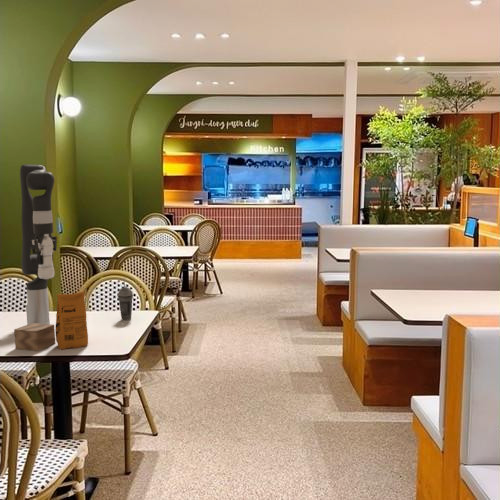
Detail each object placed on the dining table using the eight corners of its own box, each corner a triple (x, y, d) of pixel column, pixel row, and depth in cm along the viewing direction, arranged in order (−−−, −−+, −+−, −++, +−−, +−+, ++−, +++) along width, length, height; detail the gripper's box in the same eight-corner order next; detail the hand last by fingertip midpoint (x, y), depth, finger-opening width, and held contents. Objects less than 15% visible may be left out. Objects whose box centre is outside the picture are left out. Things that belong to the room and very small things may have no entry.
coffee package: (55, 344, 249) (52, 292, 246) (86, 340, 253) (83, 289, 251) (57, 350, 240) (54, 296, 237) (89, 346, 244) (86, 293, 242)
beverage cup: (121, 321, 286) (119, 280, 283) (117, 318, 292) (115, 277, 289) (135, 319, 289) (134, 278, 286) (131, 316, 295) (129, 276, 293)
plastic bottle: (58, 278, 247) (55, 229, 245) (48, 280, 241) (45, 231, 238) (45, 277, 249) (42, 229, 247) (34, 280, 243) (31, 230, 240)
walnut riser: (15, 348, 243) (14, 329, 242) (33, 341, 254) (32, 323, 253) (37, 350, 240) (36, 331, 239) (55, 343, 250) (54, 324, 249)
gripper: (46, 220, 250) (48, 260, 252) (23, 223, 236) (26, 265, 239) (61, 220, 247) (64, 261, 250) (39, 223, 234) (41, 266, 236)
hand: (45, 263), depth 244 cm, fingers closed on plastic bottle, 5 cm apart
